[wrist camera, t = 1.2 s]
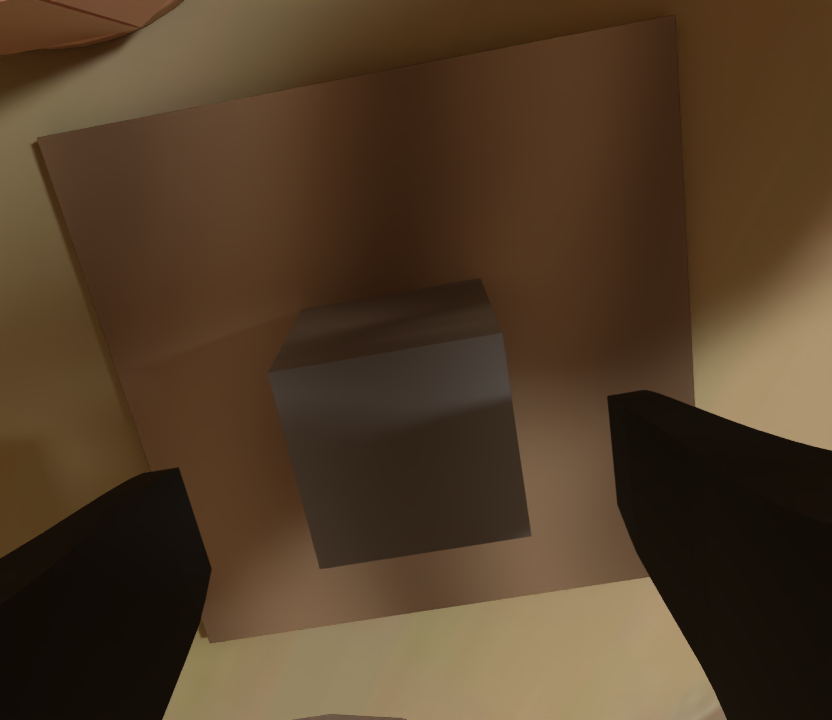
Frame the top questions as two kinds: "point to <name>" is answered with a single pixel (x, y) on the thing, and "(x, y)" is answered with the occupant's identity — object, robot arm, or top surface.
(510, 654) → the top surface
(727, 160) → the top surface
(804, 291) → the top surface
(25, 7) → the pot
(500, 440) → the lid
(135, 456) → the top surface
